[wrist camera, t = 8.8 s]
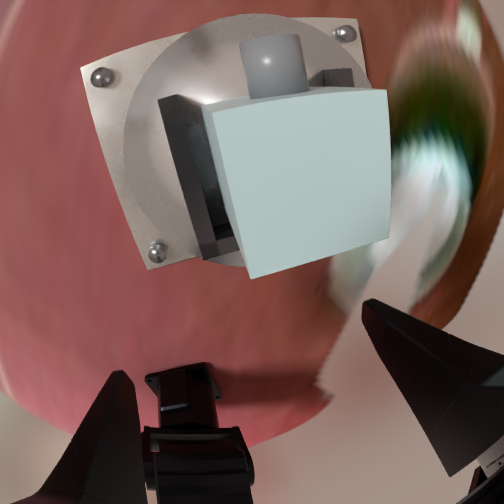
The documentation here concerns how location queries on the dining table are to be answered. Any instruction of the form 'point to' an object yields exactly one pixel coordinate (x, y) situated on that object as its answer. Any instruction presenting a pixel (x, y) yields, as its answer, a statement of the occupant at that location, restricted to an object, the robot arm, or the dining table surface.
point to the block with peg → (299, 161)
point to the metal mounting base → (193, 124)
